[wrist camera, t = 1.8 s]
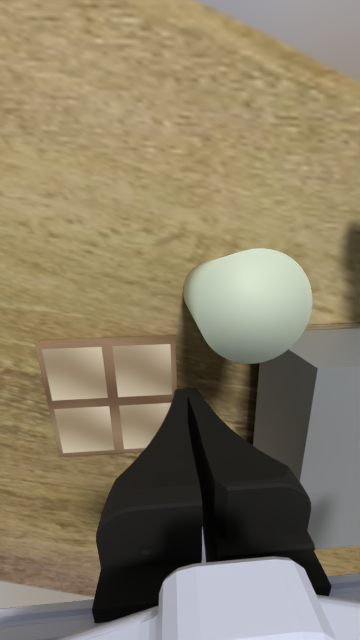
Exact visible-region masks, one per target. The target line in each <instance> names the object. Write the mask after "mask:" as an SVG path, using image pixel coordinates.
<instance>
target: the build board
mask: <svg viewBox="0 0 360 640" xmlns="http://www.w3.org/2000/svg"><path fill="white" fill-rule="evenodd" d="M35 346H36V350H37V355H38V360H39V364H40V369H41V374H42V378H43V383H44V388H45V393H46V397H47V402H48V407H49V411H50V416H51V421H52V425H53V430H54V435H55V440H56V444H57V449H58V454H59V457H67V456H83V455H98V454H113V453H129V452H143V451H144V450H145V448H146V447H147V446H148V444H149V443H150V442H151V440H152V439H153V437H154V436H155V435H156V433H157V431H158V430H159V428H160V426H161V425H162V423H163V421H164V419H165V417H166V415H167V413H168V411H169V408H170V406H171V403H172V400H173V397H174V391H175V390H176V389H177V373H176V340H175V335H164V336H138V337H112V338H86V339H60V340H42V341H41V342H39V343H37V344H35Z"/></svg>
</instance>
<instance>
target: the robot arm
mask: <svg viewBox="0 0 360 640" xmlns="http://www.w3.org/2000/svg"><path fill="white" fill-rule="evenodd" d="M310 514H311V501H310V498H309V496H308V494H307V492H306V491H305V489H304V488H303V486H302V484H301V483H300V481H299V480H298V479H297V477H296V476H295V475H294V473H293V472H292V471H291V469H290V468H289V466H287V465H285V464H283V463H281V462H280V461H278V460H276V459H274V458H272V457H270V456H268V455H267V454H265V453H263V452H262V451H260V450H259V449H257V448H255V447H254V446H252V445H251V444H249V443H248V442H247V441H245V440H244V439H243V438H241V437H240V436H239V435H237V434H236V433H235V432H234V431H233V430H231V429H230V428H229V427H228V426H227V425H226V424H225V423H224V422H223V421H222V420H221V419H220V418H219V417H218V416H217V415H216V414H215V412H214V411H213V410H212V409H211V408H210V406H209V405H208V404H207V403H206V401H205V400H204V399H203V397H202V396H201V394H200V393H199V391H198V390H197V389H196V388H189V389H176V390H175V391H174V397H173V400H172V403H171V406H170V408H169V411H168V413H167V415H166V417H165V419H164V421H163V423H162V425H161V426H160V428H159V430H158V431H157V433H156V435H155V436H154V437H153V439H152V440H151V442H150V443H149V444H148V446H147V447H146V448H145V450H144V451H143V452H142V453H141V454H140V455H139V457H138V458H137V459H136V460H135V461H134V462H133V463H132V464H131V465H130V466H129V467H128V468H127V469H126V470H125V471H124V472H123V473H122V474H121V475H120V476H119V477H118V478H117V479H116V480H115V482H114V484H113V486H112V488H111V491H110V493H109V495H108V498H107V500H106V503H105V505H104V508H103V511H102V515H101V518H100V522H99V526H98V529H97V533H96V543H97V548H98V554H99V559H100V565H101V572H100V576H99V581H98V585H97V589H96V594H95V598H94V600H83V601H73V602H63V603H53V604H42V605H32V606H22V607H13V608H1V609H0V640H360V573H358V574H348V575H338V576H328V577H327V576H326V574H325V572H324V570H323V568H322V566H321V564H320V562H319V560H318V558H317V557H316V555H315V553H314V551H313V550H315V545H314V543H313V541H312V539H311V537H310V535H309V533H308V531H307V530H308V524H309V519H310Z"/></svg>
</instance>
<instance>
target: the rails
mask: <svg viewBox="0 0 360 640" xmlns="http://www.w3.org/2000/svg"><path fill="white" fill-rule="evenodd" d="M356 328H360V323H339V324H312V325H307V326H306V328H305V330H330V329H356ZM252 446H253V445H252Z"/></svg>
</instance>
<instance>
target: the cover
mask: <svg viewBox="0 0 360 640" xmlns="http://www.w3.org/2000/svg"><path fill="white" fill-rule="evenodd" d="M253 446H254V447H255V448H257V449H259V450H260V451H262V452H263V453H265V454H267V455H268V456H270V457H272V458H274V459H276V460H278V461H280V462H281V463H283V464H285V465H287V466H289V468H290V469H291V471H292V472H293V473H294V475H295V476H296V477H297V479H298V480H299V481H300V483H301V484H302V486H303V488H304V489H305V491H306V492H307V494H308V496H309V498H310V501H311V514H310V519H309V524H308V530H307V531H308V533H309V535H310V537H311V539H312V541H313V543H314V545H315V550H316V549H327V548H338V547H349V546H360V328H356V329H330V330H304V332H303V333H302V335H301V336H300V338H299V339H298V340H297V341H296V343H295V344H294V345H293V346H292V347H291V348H289V349H288V350H287V351H286V352H284V353H283V354H281V355H279V356H278V357H276V358H274V359H271V360H268V361H265V362H261V363H260V366H259V378H258V390H257V403H256V415H255V427H254V440H253Z"/></svg>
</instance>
